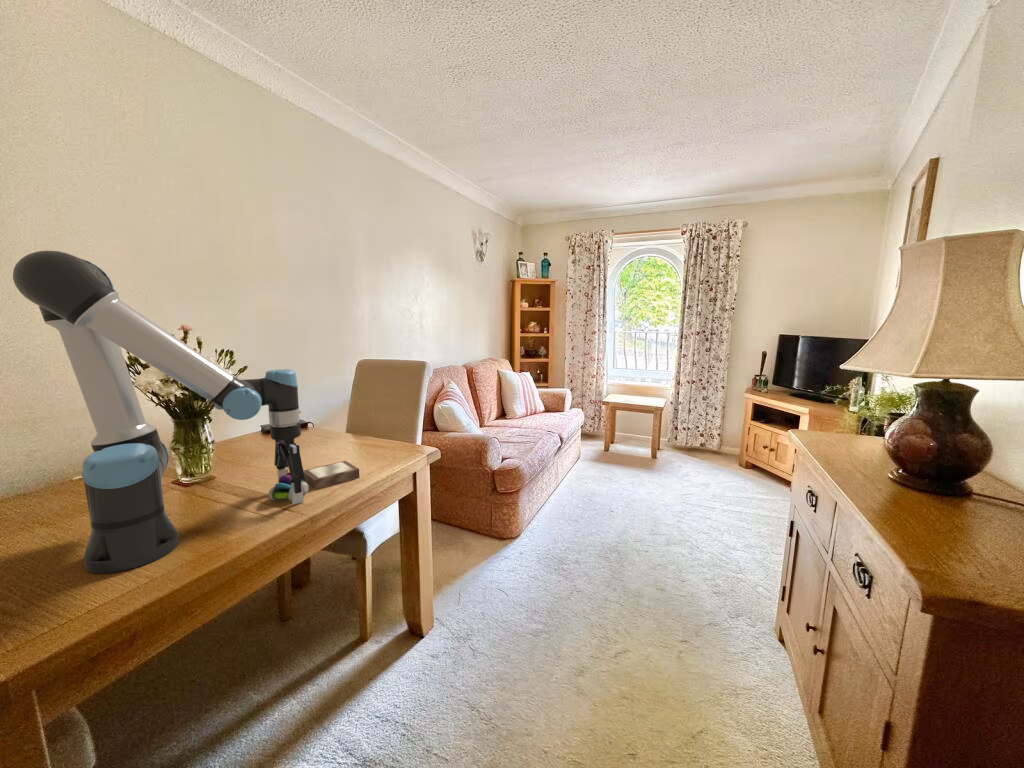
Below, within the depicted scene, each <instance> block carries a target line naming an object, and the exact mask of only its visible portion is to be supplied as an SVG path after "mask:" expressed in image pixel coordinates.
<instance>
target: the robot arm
mask: <svg viewBox="0 0 1024 768" xmlns="http://www.w3.org/2000/svg"><path fill="white" fill-rule="evenodd" d="M12 271H13V272H12V280H13V282H14V286H15V287H16V288H17V290H18V291H19V293H20V294H21V295H22V296H23V297H24V298H25V299H27V300H28V301H29V302H32V303H33V304H35V305H36V306H38V308H39V310H40V313H41V316H42V318H43V321H44V324H46V325H48V326H50V327H52V328H55V329H56V330H57V331H58V332H59V335H60V338H61V341H62V342H63V346H64V349H65V351H66V353H67V356H68V357H67V358H68V360H69V361H70V364H71V368H72V369H73V373H74V375H75V377H76V381H77V383H78V386H79V388H80V392H81V394H82V396H83V397H82V398H83V399H84V402H85V405H86V408H87V411H88V413H89V415H90V419H91V421H92V424H93V427H94V428H95V432H96V435H95V437H93V439H92V440H91V441H90V444H91V448H92V450H93V452H92V453H91V454H89V455H88V456H87V457H85V458H84V459H83V462H82V470H81V478H82V481H83V483H84V489H85V495H86V503H87V508H88V515H89V520H90V526H91V531H90V535H89V538H88V541H87V545H86V549H85V551H84V554H83V555H84V556H83V562H84V563H83V564H84V569H85V570H86V571H87V572H89V573H92V574H112V573H118V572H123V571H126V570H127V571H128V570H131V569H135V568H138V567H141V566H144V565H146V564H149V563H151V562H153V561H154V562H155V561H156V560H158V559H160V558H163V557H164V556H165V555H168V554H169V553H171V552H172V551H173V550H174V549H175V548H176V547H177V546H178V544H179V533H178V531H177V529H176V528H175V525H174V524H173V522H172V521H171V520H170V518H169V515H168V514H167V513H166V510H165V504H164V496H163V488H162V478H163V476H164V473H165V470H166V469H167V467H168V464H169V458H170V457H169V451H168V448H167V447H166V445H165V444H164V442H163V441H162V440H161V437H160V434H159V432H158V429H157V427H156V426H155V425H153V424H151V423H148V422H146V419H145V417H144V413H143V411H142V406H141V404H140V401H139V397H138V395H137V393H136V392H137V391H136V389H135V386H134V383H133V381H132V377H131V375H130V371H129V369H128V367H127V363H126V361H125V357H124V354H123V351H122V349H124V350H125V351H127V352H129V354H132V355H133V356H135V357H137V358H138V359H140V360H141V361H143V362H145V363H147V364H149V366H152V367H153V368H155V369H157V370H158V371H160V372H161V373H163V374H164V375H167V376H168V377H169V378H171V379H173V380H174V381H176V382H178V383H179V384H181V385H183V386H185V387H186V388H188V389H189V390H191V391H192V392H194V393H196V394H197V395H199V396H200V397H202V398H204V399H205V400H207V401H209V402H211V403H212V404H213V405H214V407H215V409H216V410H221V411H222V410H223V411H224V413H225V415H227V416H229V417H231V418H232V419H234V420H238V421H245V420H250V419H252V418H253V417H255V416H257V415H258V414H259V412H260V411H261V409H262V407H264V406H268V419H269V421H268V422H269V425H270V427H269V430H270V439H272V440H273V441H274V447H275V448H274V462H273V463H274V466H275V467H276V471H277V483H279V478H280V477H281V476H283V475H286V474H287V473H289V472H290V475H291V479H292V480H291V481H290V482H289V483H291V493H292V501H291V503H292V505H297V504H301V503H303V502H304V495H303V488H302V482H304V480H305V477H304V472H303V470H304V467H303V462H302V458H301V449H300V445H299V444H297V443H296V442H295V439H297V438H299V437H300V436H301V434H302V433H301V431H302V430H301V423H300V414H302V411H301V410H300V408H299V407H300V405H299V389H298V388H299V385H298V382H297V374H296V372H295V371H294V370H293V369H289V368H287V369H286V368H285V369H281V368H280V369H269V370H267V371H265V376H264V377H262V378H249V379H239V378H237V377H236V376H234V375H233V374H231V373H230V372H228V371H227V370H226V369H224V368H222V367H221V366H220V365H218V364H217V363H215V362H213V361H212V360H210V359H209V358H208V357H206V356H205V355H203V354H201V353H200V352H198V351H197V350H195V349H194V348H193V347H191V346H189V345H188V344H186V343H185V342H183V341H182V340H180V339H179V338H178V337H176V336H174V335H173V334H171V333H170V332H168V331H167V330H166V329H164V328H162V326H159V325H158V324H157V323H155V322H153V321H152V320H151V319H149V318H148V317H146V316H144V315H143V314H142V313H140V312H139V311H137V310H136V309H134V308H133V307H131V306H130V305H128V304H126V303H125V302H124V301H123V300H121V299H120V297H119V292H118V291H117V290H116V289H114V284H113V283H112V281H111V278H110V277H109V276H108V275H107V273H106V272H105V271H104V270H103V269H102V268H100V266H98V265H96V264H95V263H93V262H91V261H89V260H86V259H83V258H79V257H77V256H75V255H72V254H70V253H68V252H64V251H57V250H38V251H35V252H32V253H28V254H27V255H25V256H23V257H22V258H20V259H19V261H17V262H16V264H15V266H14V267H13V270H12ZM298 476H299V477H298Z"/></svg>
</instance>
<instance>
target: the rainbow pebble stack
mask: <svg viewBox="0 0 1024 768" xmlns="http://www.w3.org/2000/svg"><path fill="white" fill-rule="evenodd" d="M298 477H299V476H298ZM291 480H292V479H291V475H290V472H289V471H288V473H287V474H286V475H283V476H281V477H280V478H279V483H278V482H277V483H275V484H274V486H273V487H272V488H270V489H269V491H268V494H267V496H268V498H269V499H270V500H271V501H273V502H275V501H277V500H279V499H288V500H289V502H292V493H291V483H289V482H290V481H291ZM302 488H303V496H304V495H306V494H307V493H308V492H309V489H310V487H309V484H308V483H306V482H305V481H302Z"/></svg>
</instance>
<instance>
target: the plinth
mask: <svg viewBox="0 0 1024 768" xmlns="http://www.w3.org/2000/svg"><path fill="white" fill-rule="evenodd" d="M303 472H304V477H305V480H303V482H306V483H307V484H308V486H310V487H311V488H313V489H314V490H319V489H323V488H327V487H330V486H333V485H338V484H342V483H345V482H349V481H353V480H357V479H360V468H358V467H356V466H355V465H354V464H352V463H349V462H348V461H346V460H343V461H339V462H338V461H337V462H333V463H329V464H325V465H321V466H317V467H313V468H308V469H305V470H304V469H303Z"/></svg>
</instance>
